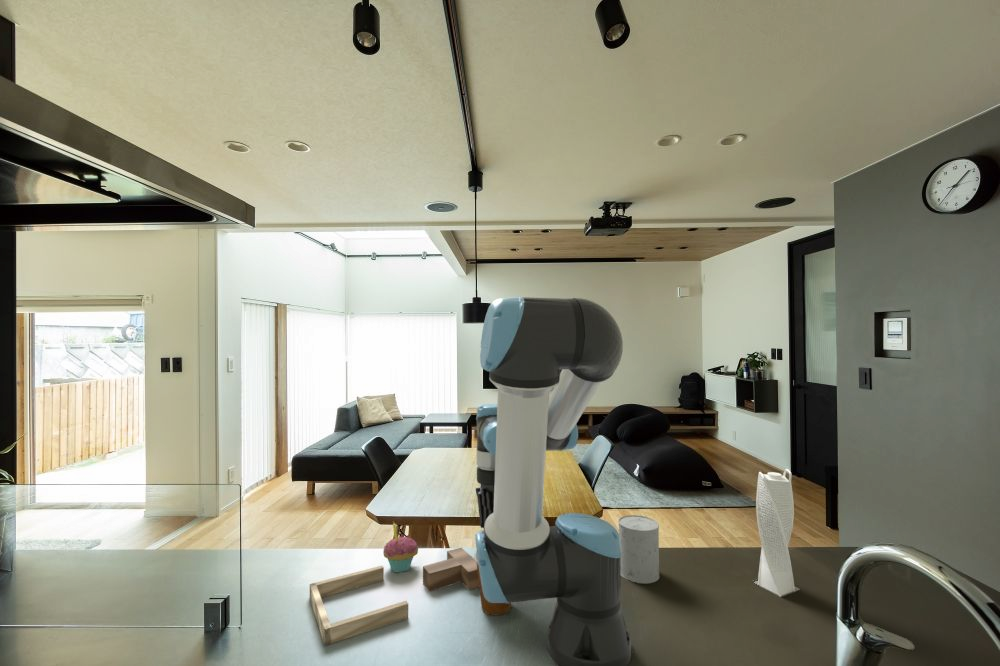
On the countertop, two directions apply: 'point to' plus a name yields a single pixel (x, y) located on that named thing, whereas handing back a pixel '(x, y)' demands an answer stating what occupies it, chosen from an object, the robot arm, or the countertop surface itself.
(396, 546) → the cupcake
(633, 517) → the white marble cylinder
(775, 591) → the skyscraper
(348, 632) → the bay
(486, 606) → the disposable coffee cup
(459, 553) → the t block
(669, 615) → the countertop surface
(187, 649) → the countertop surface
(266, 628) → the countertop surface
